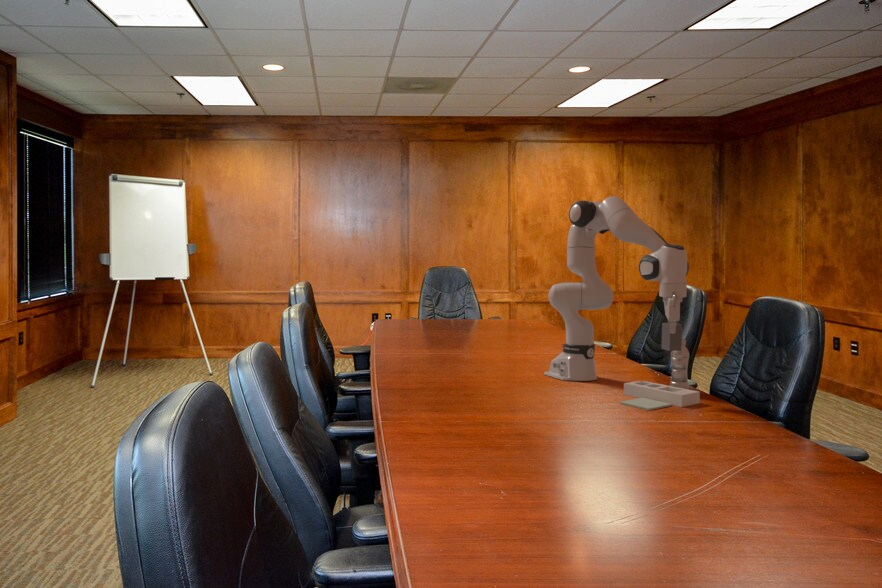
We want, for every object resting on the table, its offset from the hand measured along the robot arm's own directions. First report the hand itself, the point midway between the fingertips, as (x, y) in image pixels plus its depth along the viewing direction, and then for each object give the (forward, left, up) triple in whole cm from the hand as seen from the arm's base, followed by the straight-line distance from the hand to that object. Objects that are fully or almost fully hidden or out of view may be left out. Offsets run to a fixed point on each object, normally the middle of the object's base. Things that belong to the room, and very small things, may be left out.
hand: (671, 331), depth 227 cm
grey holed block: (-4, 0, -24) cm, 24 cm away
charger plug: (0, 0, -6) cm, 6 cm away
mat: (-1, -12, -24) cm, 27 cm away
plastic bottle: (-5, +12, -24) cm, 27 cm away
